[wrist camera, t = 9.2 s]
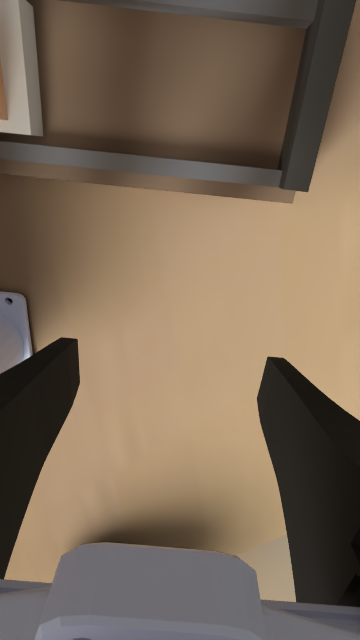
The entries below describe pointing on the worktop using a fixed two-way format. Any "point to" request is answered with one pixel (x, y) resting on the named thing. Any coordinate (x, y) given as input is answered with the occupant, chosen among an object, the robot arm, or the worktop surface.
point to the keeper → (19, 70)
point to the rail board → (183, 94)
